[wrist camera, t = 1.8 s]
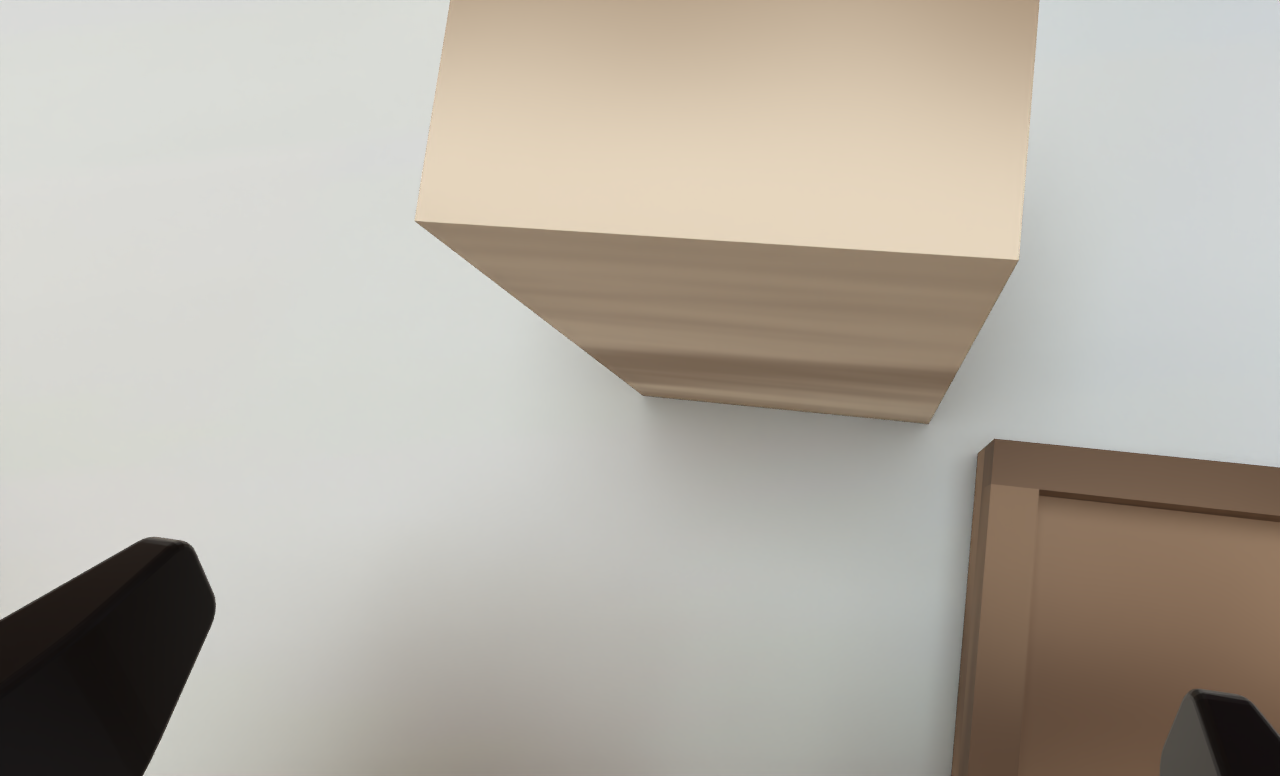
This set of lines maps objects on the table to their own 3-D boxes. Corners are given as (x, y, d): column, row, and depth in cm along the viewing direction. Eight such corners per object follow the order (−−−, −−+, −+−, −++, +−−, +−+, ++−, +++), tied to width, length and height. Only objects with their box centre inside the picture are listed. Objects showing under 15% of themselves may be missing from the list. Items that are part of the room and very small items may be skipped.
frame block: (933, 424, 21) (1030, 260, 9) (642, 395, 22) (414, 220, 11) (954, 189, 22) (1068, -232, 10) (671, 175, 23) (484, -213, 11)
